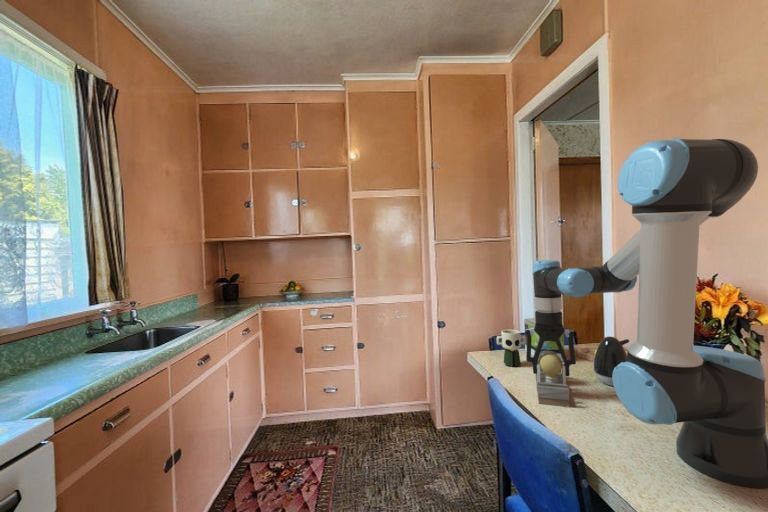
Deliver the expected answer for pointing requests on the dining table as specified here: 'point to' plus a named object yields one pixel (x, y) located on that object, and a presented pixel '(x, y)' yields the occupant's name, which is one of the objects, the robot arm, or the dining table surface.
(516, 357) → the character mug
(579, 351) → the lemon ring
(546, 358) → the light bulb
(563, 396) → the grey stacked slabs
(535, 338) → the tea box
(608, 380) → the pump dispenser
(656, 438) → the dining table surface
